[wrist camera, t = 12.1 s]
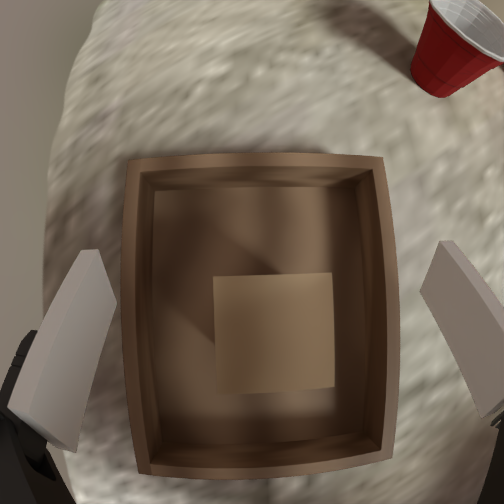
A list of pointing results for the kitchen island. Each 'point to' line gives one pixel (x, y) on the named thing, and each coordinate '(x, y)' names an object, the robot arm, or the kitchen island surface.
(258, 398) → the walnut crate
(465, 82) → the plastic cup
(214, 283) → the oak peg
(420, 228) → the kitchen island surface
